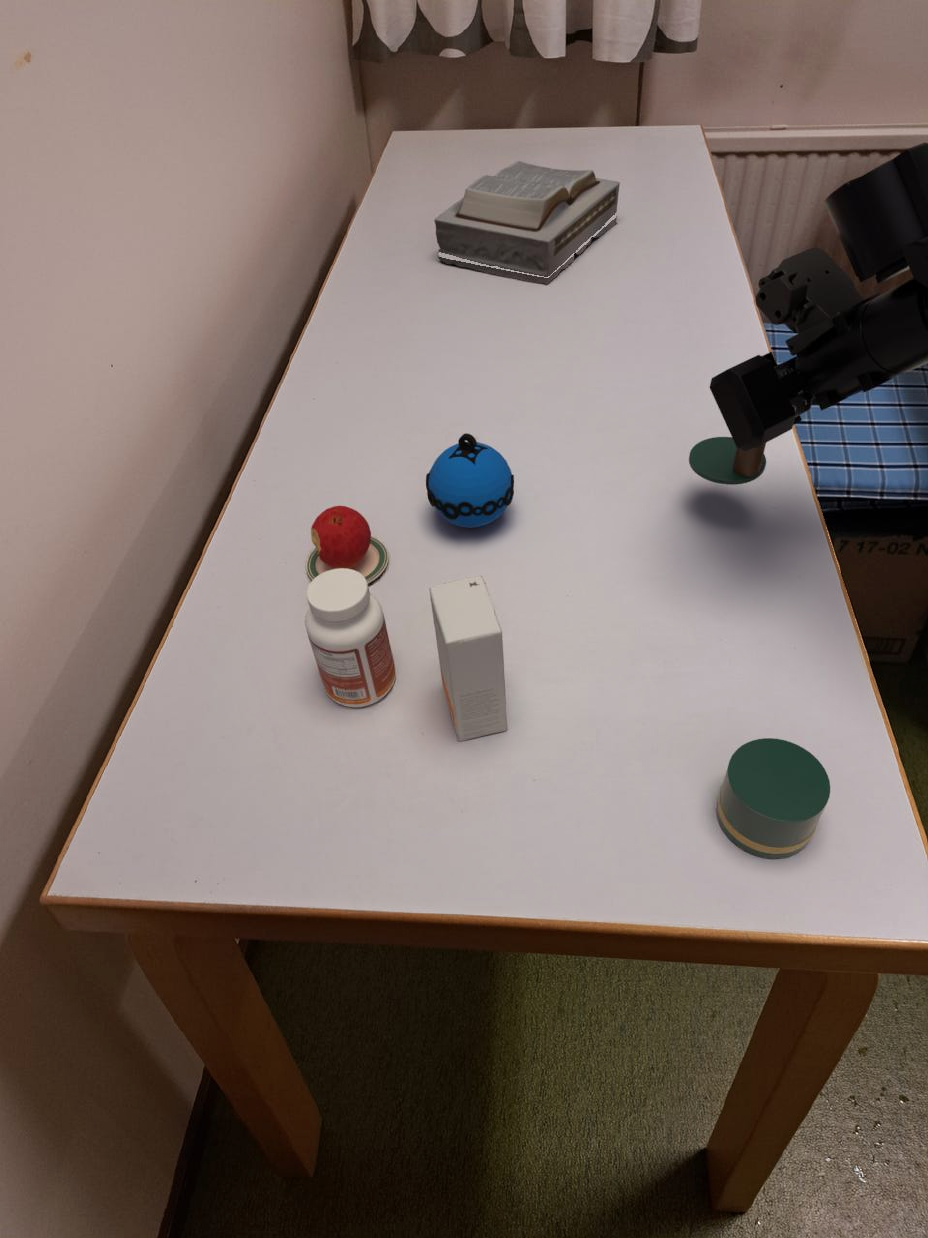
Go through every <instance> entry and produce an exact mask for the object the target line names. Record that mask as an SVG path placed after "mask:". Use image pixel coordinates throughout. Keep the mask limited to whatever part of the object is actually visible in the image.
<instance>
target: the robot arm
mask: <svg viewBox="0 0 928 1238" xmlns="http://www.w3.org/2000/svg"><path fill="white" fill-rule="evenodd" d="M823 203H824V205H825V208H826V210H827V212H828V215H829V218H830V219H831V221H832V224H833V226H834V228H835V231H836V233H837V235H838V238H839V240H840V242H841V244H842V247H843V249H844V251H845V254H846V257H847V259H848V261H849V263H850V266H851V268H852V270H853V273H854V275H855V276H856V278H858V280H859V283H863V282H865V281H867V280H869V279H870V278H872V277H874V278H875V280H876V283H877V284H878V285H879V284H881V283H884V282H887V281H888V280H891V279H892V278H894V277H896V276H898V275H900V274H902V273H904V272H906V271H910V273H911V275H912V277H911V278H909V279H907V280H905V281H903V282H901V283H900V284H897V285H895V286H894V287H892V288H890V289H888V290H887V291H884V292H883V293H882V294H881V293H880V292H877V293H875V294H872V295H871V296H869V297H866V298H865V299H864V298H863V296H862V295H861V294H860V292H859V291H858V289H856V284H855V282H854V281H853V280H852V279H851V278H850V276H849V275H848V274H847V273H846V271H844V269H842V268H841V266H840V264H838V263H837V262H836V261H835V260H834V259H833V257H832V256H831V255H830V254H829V253H828V252H827V251H826V250H824V249H822V248H820V247H811V248H809V249H806V250H804V251H801V252H798V253H796V254H794V255H791V256H789V257H787V258H785V259H783V260H781V262H780V264H779V265H778V266H777V267H776V268H773V269H772V270H771V272H770V273H769V274H768V275H766V276H763V277H761V278H760V279H759V280H758V288H759V291H758V292H757V294H756V295H755V305H756V307H757V308H758V309H759V310H760V312H762V313H763V315H764V316H765V317H766V318H767V320H768V321H769V322H770V323H771V324H772V325H774V326H779V325H781V324H784V325H785V326H786V327H787V329H789V330H790V331H791V332H793V333H796V334H795V335H793V336H791V337H790V338H787V339H785V341H784V342H785V344H786V346H787V348H788V351H789V353H790V355H791V356H792V357H791V358H790V359H788V360H786V361H783V362H782V363H779V364H778V363H777V361H776V359H775V356H774V354H773V352H772V351H769V352H767V353H765V354H763V355H761V354H757V355H755V356H753V357H751V358H748V359H746V360H744V361H742V362H740V363H738V364H736V365H734V366H732V367H730V368H727V369H725V370H724V371H722V372H720V373H718V374H717V375H714V376H713V377H711V380H710V384H709V390H710V391H711V394H712V396H713V399H714V400H715V404H716V405H717V407H718V410H719V412H720V414H721V416H722V418H723V420H724V422H725V424H726V425H725V426H726V427H727V430H728V431H729V433H730V437H732V438H733V440H734V442H735V445H736V447H737V448H738V449H740V450H742V451H745V452H746V451H748V450H751V449H753V448H756V447H758V446H761V445H763V444H765V443H766V444H767V443H768V442H770V441H772V440H774V439H776V438H778V437H780V436H782V435H784V434H785V433H787V432H789V431H791V430H793V427H794V425H796V424H798V423H800V422H802V421H803V419H802V416H801V415H803V414H805V413H807V412H809V411H810V410H811V408H812V406H815V405H816V406H818V407H819V409H820V411H824V410H827V409H828V408H831V407H833V406H835V405H837V404H839V403H840V402H842V401H844V400H847V399H848V398H849V397H852V396H855V395H857V394H859V393H861V392H862V393H863V394H864V393H866V392H869V391H871V390H873V389H876V388H878V387H879V386H881V385H882V384H885V383H887V382H889V381H890V380H893V379H894V378H896V377H899V376H901V375H904V374H906V373H908V372H910V371H912V370H915V369H918V368H919V367H922V366H925V365H927V364H928V142H922V143H919V144H916V145H914V146H911V147H909V148H907V149H905V150H903V151H902V152H900V153H899V154H898V155H896V156H895V157H893V158H891V159H890V160H888V161H886V162H884V163H882V164H880V165H878V166H877V167H875V168H873V169H871V170H870V171H868V172H866V173H865V174H862V175H861V176H858V177H856V178H853V179H851V180H848V181H846V182H845V183H843V184H842V185H840V186H839V187H838V188H836V189H835V190H834V191H833V192H831V193H830V194H829V195H828V196H827V197H826V198H825V200H824V201H823ZM793 356H794V357H793Z"/></svg>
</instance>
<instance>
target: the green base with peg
mask: <svg viewBox="0 0 928 1238" xmlns="http://www.w3.org/2000/svg"><path fill="white" fill-rule="evenodd" d="M766 445H767V442H766V443H765V444H763V445H761V446H758V447H756V448H753V449H751V450H748V451H746V452H745V451H742V450H740V449H738V448H737V447H736V445H735V442H734V440H733V438H732V436H716V437H709V438H706V439H703V440H701V441H699V442H697V443H696V444H695V445H694V446H692V448H691V450H690V451H689V455H688V463H689V466H690V468H691V470H692V471H693V472H694V474H696V475H698V476H699V477H701V478H702V479H703V480H707V481H708V482H711V483H715V484H719V485H726V486H727V485H731V486H732V485H744V484H747V483H751V482H753V481H755V480H757V479H759V478H760V477H761V476H762V474H763V473H764V472H765V470H766V465H767V458H766V455H765V449H766Z"/></svg>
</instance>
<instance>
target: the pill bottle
mask: <svg viewBox="0 0 928 1238" xmlns="http://www.w3.org/2000/svg"><path fill="white" fill-rule="evenodd" d="M306 599H307V603H308V604H307V605H308V609H307V611H306V614H305V617H304V618H305V619H304V626H305V630H306V634H307V638H308V640H309V643H310V647H311V650H312V653H313V656H314V660H315V663H316V666H317V669H318V674H319V676H320V679H321V683H322V686H323V688H324V690H325V692H326V694H327V696H328V697H329V698H330V699H331V700H332V701H334V702H335V703H336V704H339V705H341V706H345V707H349V708H362V707H367V706H370V705H372V704H375V703H377V702H379V701H380V700H382V699H383V698H384V697H385V696H386V695H387V694H388V693H389V692H390V690H391V689H392V687H393V685H394V683H395V680H396V665H395V660H394V656H393V652H392V648H391V642H390V638H389V633H388V628H387V624H386V618H385V615H384V611H383V607H382V605H381V603H380V601H379V600H378V598H377V597H376V596H375V595H374V594H373V593H371V592H370V588H369V583H368V584H367V581H366V579H365V577H364V576H363V575H362V574H361V573H359V572H357V571H355V570H352V569H346V568H339V569H332V570H329V571H326V572H324V573H322V574H320V575H318V576H317V577H316V578H315V579H314V580H312V581H311V582H310V583H309V585H308V586H307V589H306Z"/></svg>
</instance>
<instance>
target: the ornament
mask: <svg viewBox="0 0 928 1238" xmlns="http://www.w3.org/2000/svg"><path fill="white" fill-rule="evenodd" d="M425 488H426V496H427V499H428V502H429V505H430V506H431V507H432V508H434V509H435V510H436V511H437V513H438V514H439V515H440V516H441V517H442V518H443V519H445V520H446V521H447V522H449V523H451V524H453V525H454V526H457V527H462V528H470V529H471V528H479V527H484V526H486V525H489V524H491V523H492V522H494V521H495V520H497V519H498V518H499V517H500V516H502V514H503V513H504V512H505V510H506V509H507V507H509V506H510V505H511V504H512V501H513V499H514V493H515V490H514V489H515V475H514V474H513V472H512V470H511V467H510V466H509V463H508V461H507V460H506V459H505V457H504V456H503V454H501V452H499V451H497V449H495V448H494V447H492V446H490V445H488V444H485V443H482V442H478V441H477V439H476V438H475V437H474V435H472V434H470V433H468V432H467V433H463V434H462V435H461V436H460V437H459V438H458V442H457V443H455V444H453V445H450V446H449V447H448V448H446V449H444V450H443V451H442V452H441V453H440V454H439V455H438V457H437V458H436V459H435V461H434V462H433V464H432V466H431V468H430V470H429V472H427V473H426V475H425Z"/></svg>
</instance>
